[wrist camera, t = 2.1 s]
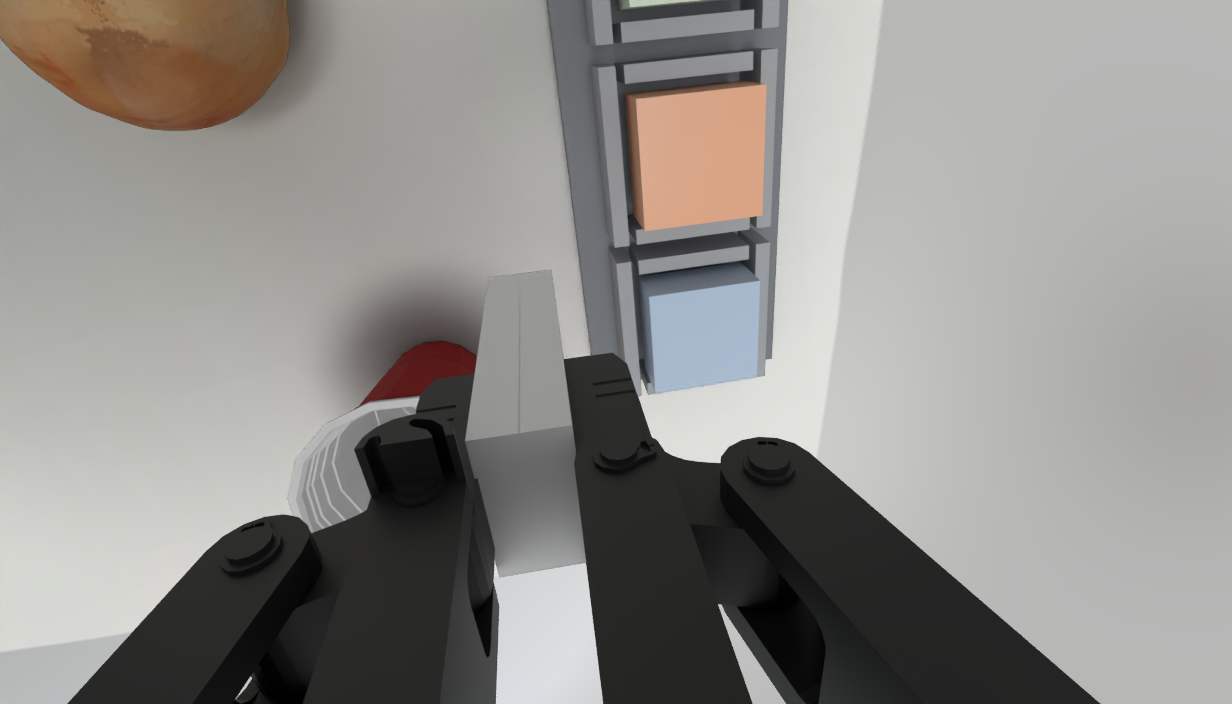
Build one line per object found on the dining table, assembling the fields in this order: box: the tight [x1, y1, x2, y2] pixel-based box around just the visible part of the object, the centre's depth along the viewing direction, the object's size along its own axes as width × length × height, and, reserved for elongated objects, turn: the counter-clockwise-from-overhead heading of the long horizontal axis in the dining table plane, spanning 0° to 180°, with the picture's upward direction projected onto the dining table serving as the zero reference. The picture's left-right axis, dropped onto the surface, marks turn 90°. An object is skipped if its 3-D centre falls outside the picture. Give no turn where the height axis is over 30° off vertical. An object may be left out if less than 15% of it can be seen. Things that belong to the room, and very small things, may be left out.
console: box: [547, 0, 788, 396], centre depth 29 cm, size 38×12×4 cm, turn 5°
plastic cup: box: [287, 341, 496, 564], centre depth 32 cm, size 11×11×12 cm
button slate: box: [638, 262, 760, 394], centre depth 33 cm, size 6×6×3 cm
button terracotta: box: [625, 81, 767, 231], centre depth 29 cm, size 6×6×3 cm
